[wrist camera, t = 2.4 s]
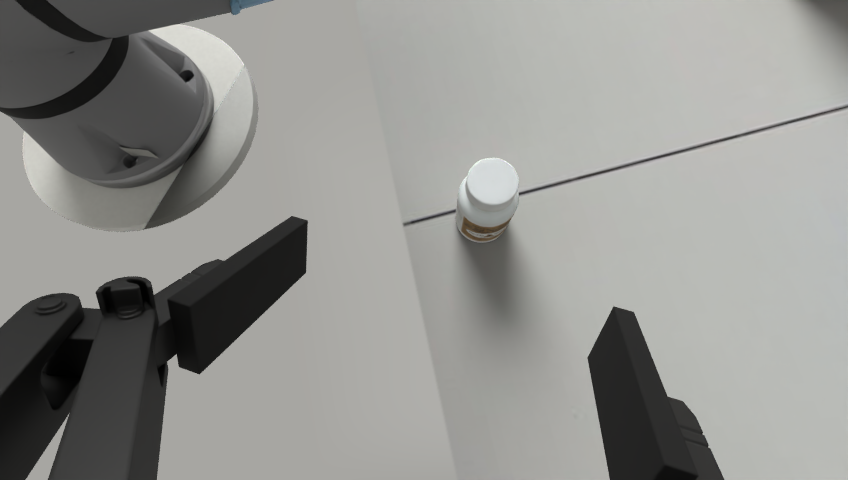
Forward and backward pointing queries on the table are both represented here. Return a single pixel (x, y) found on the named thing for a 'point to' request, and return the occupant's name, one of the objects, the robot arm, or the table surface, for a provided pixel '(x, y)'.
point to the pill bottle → (487, 200)
